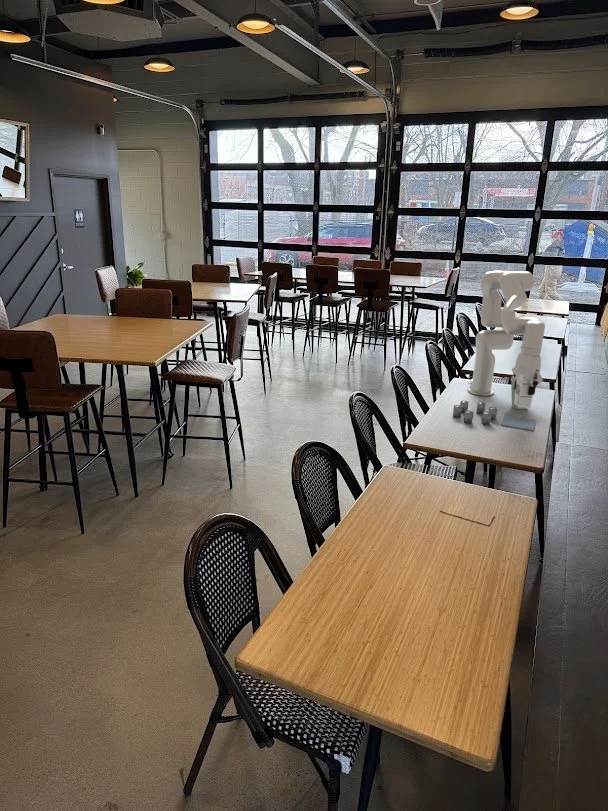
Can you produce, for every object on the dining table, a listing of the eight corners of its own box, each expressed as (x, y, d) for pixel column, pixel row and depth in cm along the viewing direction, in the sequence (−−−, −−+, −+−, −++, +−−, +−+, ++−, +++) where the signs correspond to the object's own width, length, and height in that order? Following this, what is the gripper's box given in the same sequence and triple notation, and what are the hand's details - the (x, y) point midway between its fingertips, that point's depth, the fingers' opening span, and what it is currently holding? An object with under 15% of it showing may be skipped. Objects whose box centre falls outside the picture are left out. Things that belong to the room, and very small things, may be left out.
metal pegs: (445, 413, 244) (446, 402, 243) (475, 408, 251) (476, 398, 249) (472, 427, 228) (474, 416, 227) (503, 422, 235) (505, 412, 233)
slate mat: (501, 425, 231) (501, 424, 231) (504, 416, 242) (504, 414, 242) (533, 431, 226) (533, 430, 226) (535, 421, 237) (535, 419, 237)
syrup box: (531, 408, 229) (536, 375, 224) (517, 407, 229) (522, 374, 224) (526, 403, 234) (531, 371, 229) (512, 403, 234) (517, 371, 229)
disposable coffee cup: (534, 411, 249) (539, 380, 243) (510, 411, 249) (515, 379, 244) (525, 403, 259) (531, 373, 253) (503, 403, 259) (507, 373, 254)
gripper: (508, 347, 229) (502, 386, 235) (540, 357, 214) (532, 399, 220) (522, 345, 232) (515, 385, 238) (554, 355, 217) (546, 397, 223)
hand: (524, 391), depth 229 cm, fingers closed on syrup box, 7 cm apart
